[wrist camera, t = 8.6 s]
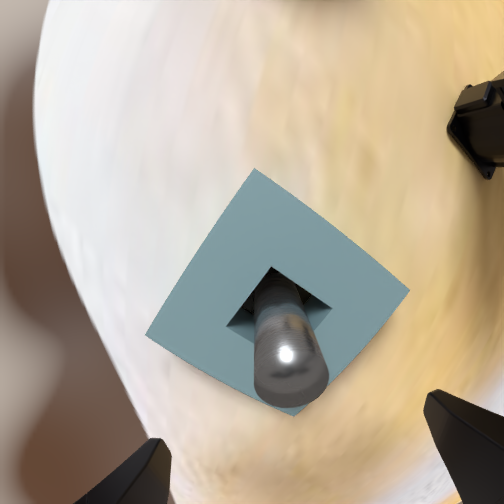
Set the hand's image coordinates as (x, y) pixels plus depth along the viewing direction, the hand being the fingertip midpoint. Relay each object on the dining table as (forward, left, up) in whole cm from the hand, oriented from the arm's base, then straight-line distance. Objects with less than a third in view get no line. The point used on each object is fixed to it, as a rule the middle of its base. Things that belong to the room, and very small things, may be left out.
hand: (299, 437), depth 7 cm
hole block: (0, 0, -13) cm, 13 cm away
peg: (0, 0, -13) cm, 13 cm away
